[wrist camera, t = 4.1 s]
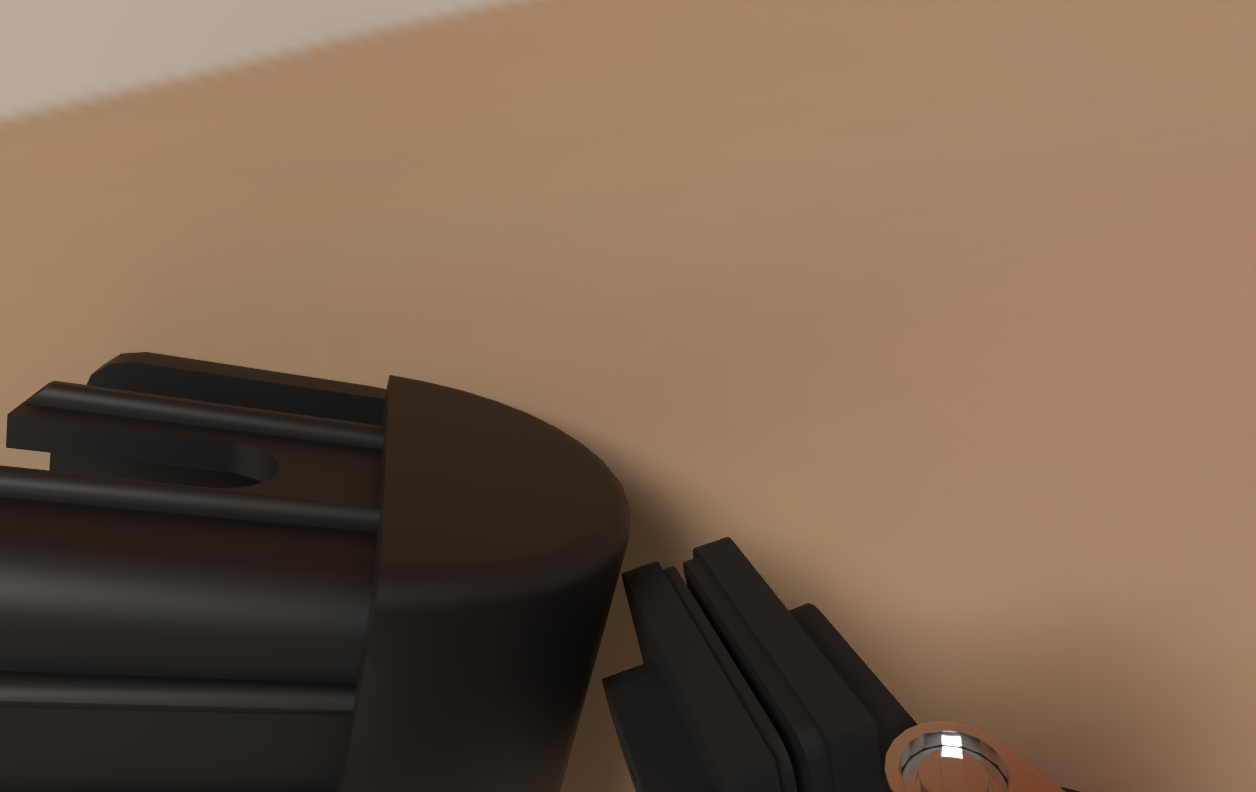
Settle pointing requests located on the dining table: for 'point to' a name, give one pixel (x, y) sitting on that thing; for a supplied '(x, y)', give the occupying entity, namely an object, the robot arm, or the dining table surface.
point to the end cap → (295, 585)
